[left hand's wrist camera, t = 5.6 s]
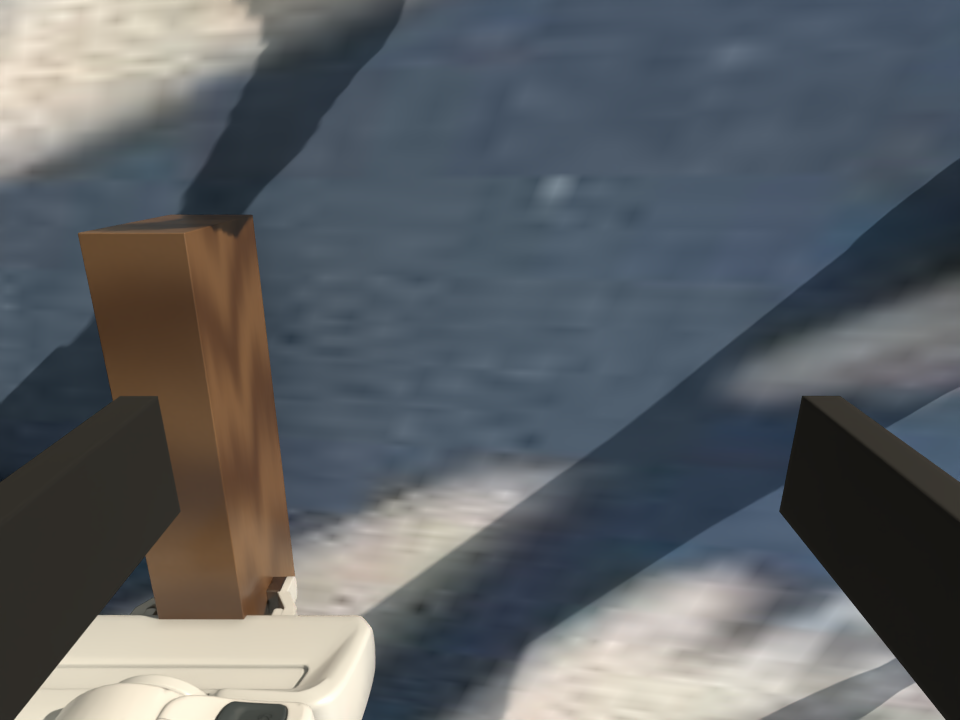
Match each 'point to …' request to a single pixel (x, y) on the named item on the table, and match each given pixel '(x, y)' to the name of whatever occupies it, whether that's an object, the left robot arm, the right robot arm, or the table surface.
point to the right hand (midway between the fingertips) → (239, 584)
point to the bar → (199, 401)
